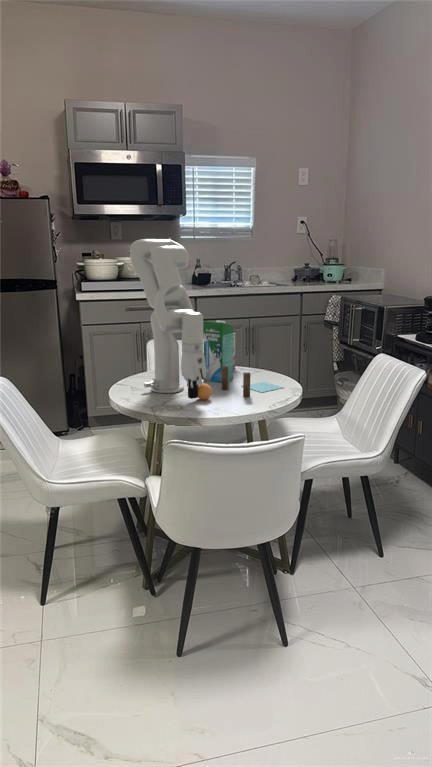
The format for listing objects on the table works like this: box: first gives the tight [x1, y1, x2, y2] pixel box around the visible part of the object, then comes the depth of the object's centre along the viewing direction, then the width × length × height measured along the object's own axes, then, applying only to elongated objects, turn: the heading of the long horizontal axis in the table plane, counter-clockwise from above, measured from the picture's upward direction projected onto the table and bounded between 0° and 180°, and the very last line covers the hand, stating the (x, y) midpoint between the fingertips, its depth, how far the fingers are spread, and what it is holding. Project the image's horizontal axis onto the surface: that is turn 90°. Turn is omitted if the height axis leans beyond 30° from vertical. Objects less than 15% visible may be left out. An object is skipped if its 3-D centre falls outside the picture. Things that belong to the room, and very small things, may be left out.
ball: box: [197, 382, 213, 401], centre depth 192 cm, size 6×6×6 cm
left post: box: [221, 366, 229, 391], centre depth 205 cm, size 3×3×9 cm
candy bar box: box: [233, 332, 236, 371], centre depth 237 cm, size 11×5×16 cm, turn 168°
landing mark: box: [241, 381, 285, 393], centre depth 210 cm, size 12×12×1 cm
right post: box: [242, 371, 251, 398], centre depth 195 cm, size 3×3×9 cm
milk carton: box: [203, 319, 234, 384], centre depth 219 cm, size 9×9×25 cm
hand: (192, 397), depth 189 cm, fingers closed
